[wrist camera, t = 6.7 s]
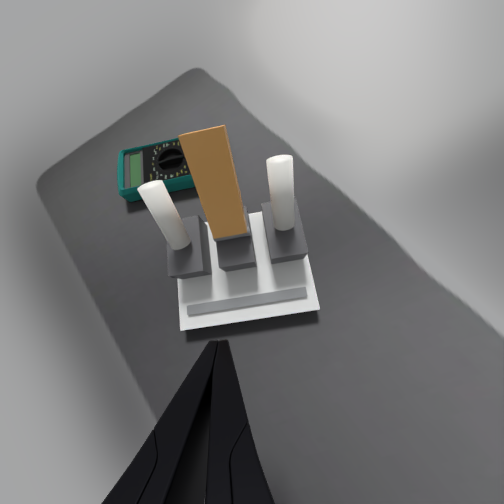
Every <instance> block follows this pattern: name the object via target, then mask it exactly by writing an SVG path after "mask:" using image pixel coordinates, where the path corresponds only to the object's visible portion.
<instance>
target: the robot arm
mask: <svg viewBox="0 0 504 504" xmlns="http://www.w3.org/2000/svg"><path fill="white" fill-rule="evenodd" d="M205 492H206V496H205ZM204 499H205V504H275V503H274V500H273V497H272V495H271V492H270V489H269V486H268V484H267V481H266V478H265V475H264V472H263V469H262V467H261V464H260V461H259V458H258V455H257V451H256V448H255V444H254V440H253V437H252V433H251V429H250V425H249V422H248V417H247V413H246V409H245V405H244V401H243V397H242V393H241V389H240V385H239V381H238V378H237V374H236V370H235V366H234V362H233V358H232V354H231V350H230V346H229V342H228V339H222V340H211V341H209V342H208V344H207V345H206V347H205V349H204V350H203V352H202V353H201V355H200V356H199V358H198V360H197V361H196V363H195V364H194V366H193V367H192V369H191V371H190V372H189V374H188V375H187V377H186V378H185V380H184V381H183V383H182V385H181V386H180V388H179V389H178V391H177V392H176V394H175V396H174V397H173V399H172V400H171V402H170V403H169V405H168V407H167V408H166V410H165V411H164V413H163V414H162V416H161V418H160V419H159V421H158V422H157V424H156V425H155V427H154V430H152V432H151V433H150V435H149V436H148V438H147V439H146V441H145V443H144V444H143V446H142V447H141V449H140V450H139V452H138V453H137V455H136V456H135V458H134V459H133V461H132V462H131V464H130V465H129V467H128V468H127V469H126V471H125V472H124V473H123V475H122V476H121V478H120V479H119V481H118V482H117V483H116V485H115V486H114V487H113V489H112V490H111V491H110V493H109V494H108V495H107V497H106V498H105V499H104V501H103V502H102V504H204Z"/></svg>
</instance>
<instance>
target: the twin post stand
mask: <svg viewBox="0 0 504 504" xmlns="http://www.w3.org/2000/svg"><path fill="white" fill-rule="evenodd" d="M266 162H267V171H268V180H269V188H270V197H271V202H265V203H261V207H262V212H257V213H252V214H248V211H247V208H246V206H244V207H243V209H244V213H245V218H246V223H247V226H249V229H250V236H244V237H238V238H233V239H227V240H222V241H216V242H214V240H213V236H212V233H211V230H210V227H209V224H208V222H204V221H203V220H202V219H201V218H200V217H199V216H198V215H197V216H192V217H186V218H181V219H180V216H179V214H178V212H177V210H176V208H175V206H174V204H173V202H172V200H171V198H170V196H169V194H168V192H167V189H166V187H165V185H164V183H163V181H162V180H155V181H151V182H148V183H145V184H143V185H141V186H140V187H139V188H138V189H137V190H138V192H139V193H140V195H141V197H142V199H143V200H144V202H145V204H146V205H147V207H148V209H149V210H150V212H151V214H152V216H153V217H154V219H155V221H156V222H157V224H158V226H159V228H160V229H161V231H162V233H163V234H164V236H165V238H166V240H167V261H168V277H173V278H177V279H178V296H179V314H180V331H182V330H189V329H195V328H202V327H208V326H215V325H221V324H228V323H235V322H241V321H248V320H254V319H261V318H267V317H274V316H280V315H287V314H293V313H300V312H306V311H313V310H320V307H319V303H318V298H317V294H316V290H315V285H314V281H313V277H312V273H311V268H310V264H309V260H308V255H307V254H308V253H309V252H308V248H307V244H306V239H305V235H304V231H303V227H302V222H301V218H300V214H299V210H298V205H297V201H296V197H294V184H293V157H292V156H291V155H278V156H274V157H271V158H269V159H267V161H266Z"/></svg>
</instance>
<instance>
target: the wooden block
mask: <svg viewBox="0 0 504 504" xmlns="http://www.w3.org/2000/svg"><path fill="white" fill-rule="evenodd" d="M178 138H179V141H180V144H181V146H182V149H183V152H184V155H185V158H186V161H187V164H188V167H189V170H190V172H191V175H192V178H193V181H194V184H195V187H196V190H197V193H198V195H199V198H200V201H201V204H202V207H203V210H204V213H205V216H206V218H207V221H208V224H209V227H210V230H211V233H212V236H213V240H214V242H216V241H222V240H227V239H233V238H238V237H244V236H250V229H249V226H247V223H246V218H245V213H244V209H243V204H242V199H241V195H240V190H239V186H238V181H237V176H236V172H235V167H234V162H233V158H232V153H231V149H230V144H229V139H228V135H227V130H226V125H222V126H217V127H213V128H208V129H204V130H199V131H194V132H190V133H185V134H182V135H179V136H178Z"/></svg>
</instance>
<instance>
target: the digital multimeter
mask: <svg viewBox="0 0 504 504" xmlns="http://www.w3.org/2000/svg"><path fill="white" fill-rule="evenodd" d="M186 175H187V176H186ZM177 177H178V178H177ZM168 179H169V180H168ZM155 180H162V181H163V183H164V185H165V187H166V189H167V192H168V193H169V192H173V191H178V190H182V189H187V188H193V187H195V184H194V181H193V178H192V175H191V172H190V170H189V167H188V164H187V161H186V158H185V155H184V152H183V149H182V146H181V144H180V141H179V138H175V139H171V140H167V141H162V142H158V143H154V144H149V145H145V146H140V147H135V148H130V149H125V150H122V151H120V152H119V156H118V166H117V181H118V191H119V195H120V196H122V197H123V198H125V199H126V200H128V201H129V202H133V201H137V200H141V199H142V197H141V195H140V193H139V192H138V190H137V189H138V188H139V187H140V186H141V185H143V184H145V183H148V182H151V181H155Z"/></svg>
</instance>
